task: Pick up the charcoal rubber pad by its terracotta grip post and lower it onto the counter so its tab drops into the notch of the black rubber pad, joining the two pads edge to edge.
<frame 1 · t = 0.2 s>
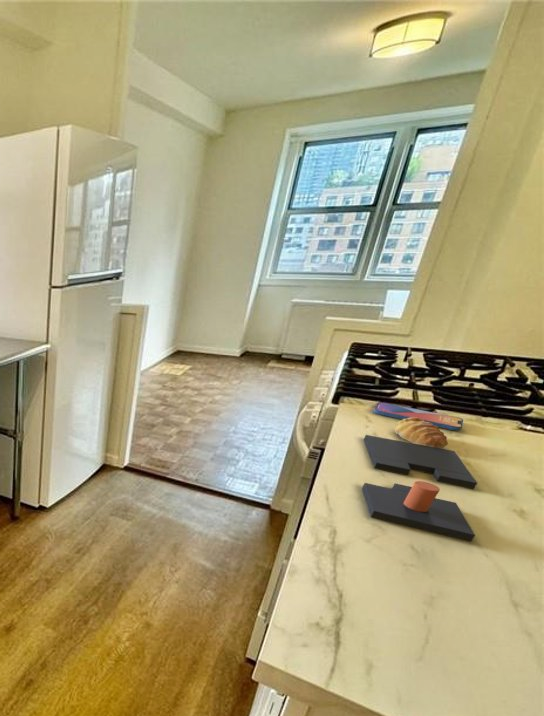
tab pad: (412, 512, 79), on the worktop
smartphone: (415, 418, 112), on the worktop
notch pad: (413, 462, 93), on the worktop
pastry: (417, 440, 102), on the worktop
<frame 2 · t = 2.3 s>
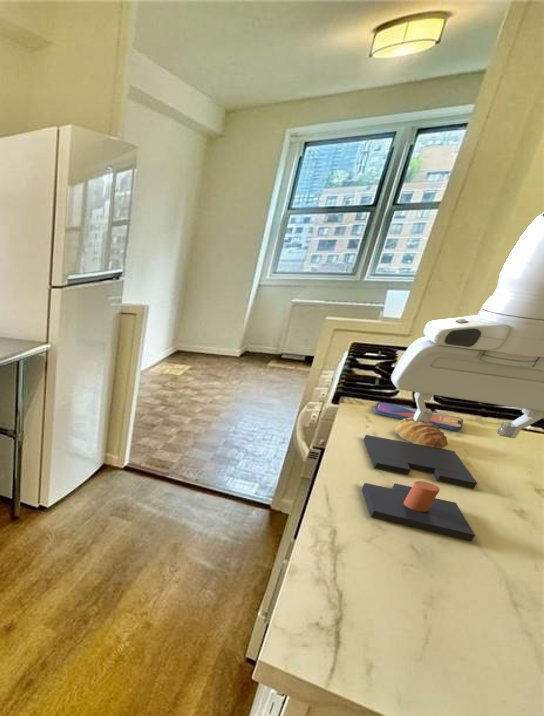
hand: (461, 428, 71), 15 cm above the worktop, tool pointing down, fingers open, 8 cm apart
nothing on the worktop moved.
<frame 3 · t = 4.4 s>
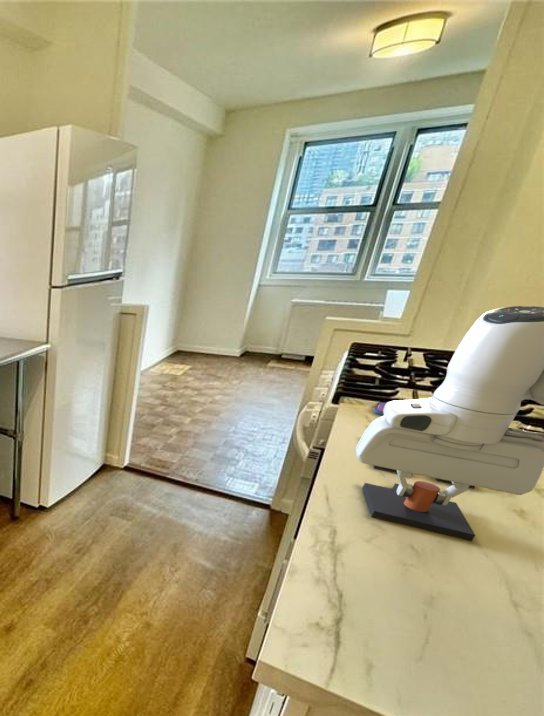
hand: (419, 498, 77), 3 cm above the worktop, tool pointing down, fingers closed on tab pad, 3 cm apart
tab pad: (412, 512, 79), on the worktop, touching gripper
everything else where it was.
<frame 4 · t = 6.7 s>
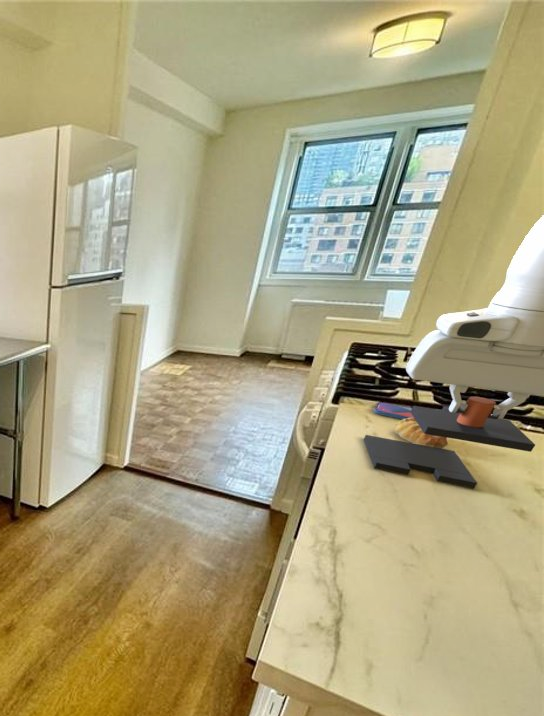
hand: (473, 414, 76), 15 cm above the worktop, tool pointing down, fingers closed on tab pad, 3 cm apart
tab pad: (465, 430, 77), point 13 cm above the worktop, touching gripper
everything else where it was.
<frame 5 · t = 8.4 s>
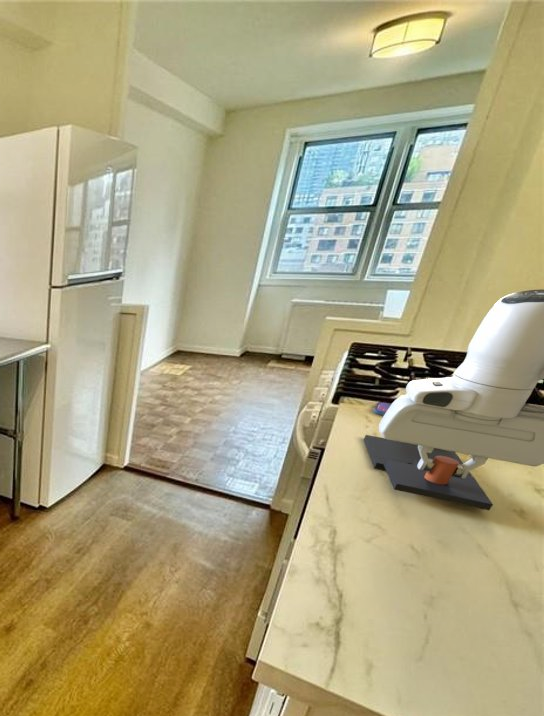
hand: (439, 472, 82), 4 cm above the worktop, tool pointing down, fingers closed on tab pad, 3 cm apart
tab pad: (432, 485, 84), point 1 cm above the worktop, touching gripper
everything else where it was.
when the fingers open (2 cm above the worktop, at t = 9.1 s): tab pad stays where it is, on the worktop.
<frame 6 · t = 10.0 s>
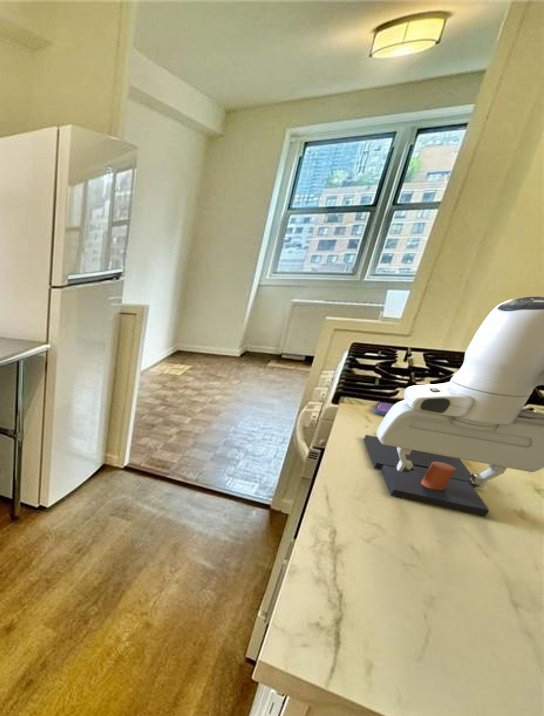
hand: (437, 477, 83), 3 cm above the worktop, tool pointing down, fingers open, 8 cm apart
tab pad: (429, 491, 84), on the worktop
everything else where it was.
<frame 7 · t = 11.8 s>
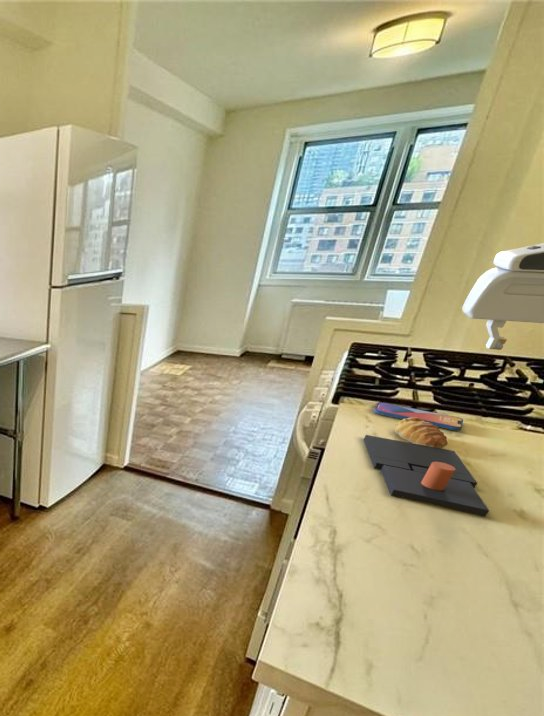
hand: (534, 352, 75), 24 cm above the worktop, tool pointing down, fingers open, 8 cm apart
nothing on the worktop moved.
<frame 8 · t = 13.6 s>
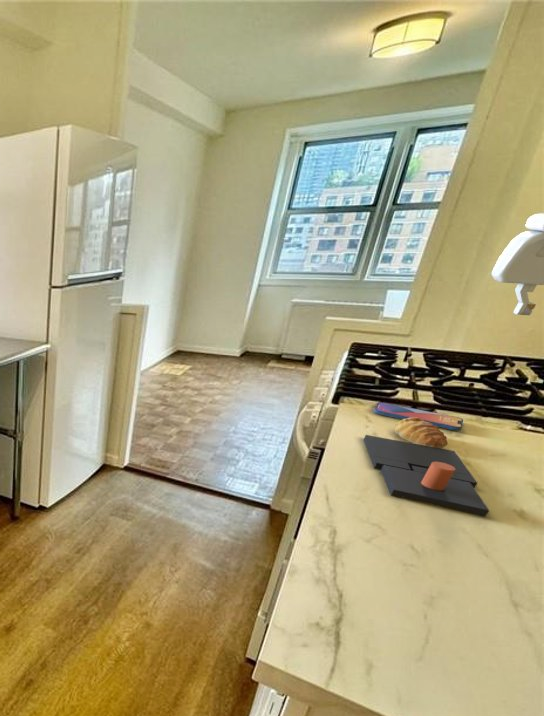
nothing on the worktop moved.
at the end: tab pad 0.0 cm from the target spot on the worktop beside the notch pad, on the worktop; tab pad tilted 0°; the gripper is holding nothing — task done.
